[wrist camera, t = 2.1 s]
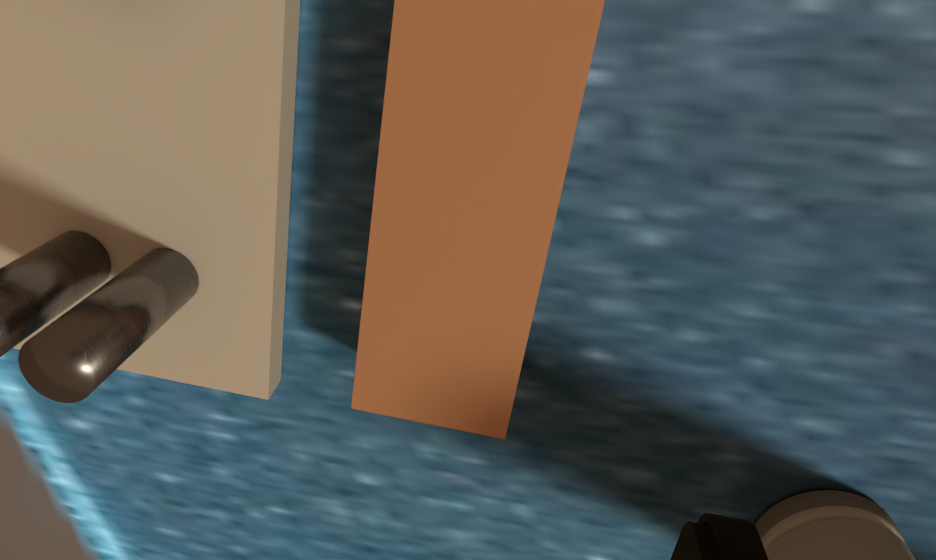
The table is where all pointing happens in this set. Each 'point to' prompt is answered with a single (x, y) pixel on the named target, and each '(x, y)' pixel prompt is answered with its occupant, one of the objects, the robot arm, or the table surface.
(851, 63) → the table surface
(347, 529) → the table surface
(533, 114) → the shelf board
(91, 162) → the peg base
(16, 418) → the table surface
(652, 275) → the table surface
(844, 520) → the travel mug
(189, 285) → the steel pegs
